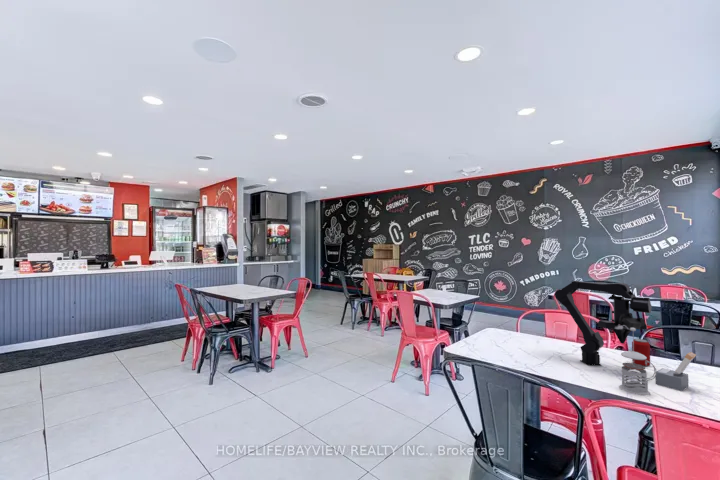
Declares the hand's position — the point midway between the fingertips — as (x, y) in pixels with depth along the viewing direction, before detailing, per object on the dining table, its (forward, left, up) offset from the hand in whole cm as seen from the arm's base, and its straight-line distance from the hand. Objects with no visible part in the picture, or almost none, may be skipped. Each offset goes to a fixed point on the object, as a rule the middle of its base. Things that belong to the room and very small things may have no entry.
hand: (622, 343), depth 150 cm
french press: (-11, -21, -13) cm, 27 cm away
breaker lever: (+9, -17, -7) cm, 21 cm away
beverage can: (+17, +10, -13) cm, 24 cm away
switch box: (+8, -15, -13) cm, 22 cm away
